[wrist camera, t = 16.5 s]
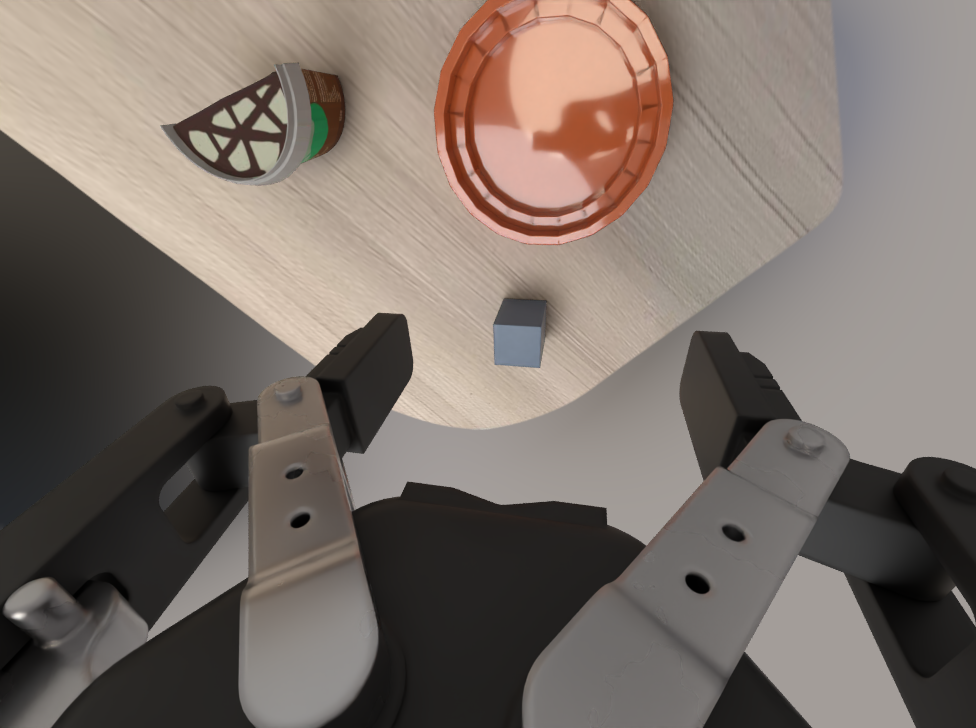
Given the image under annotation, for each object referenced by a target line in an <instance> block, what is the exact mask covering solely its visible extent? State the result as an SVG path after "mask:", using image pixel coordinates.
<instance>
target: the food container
mask: <svg viewBox="0 0 976 728" xmlns="http://www.w3.org/2000/svg"><path fill="white" fill-rule="evenodd" d="M274 67H275V69H276V71H275V72H272V73H271V74H270V75H269V76H267V77H265V78H263V79H261V80H259V81H258V82H256V83H254V84H252V85H250V86H248V87H246V88H244V89H242V90H240V91H237V92H235V93H233V94H231V95H229V96H227V97H225V98H222V99H220V100H219V101H217V102H215V103H214V104H212V105H210V106H209V107H207V108H205V109H204V110H202V111H200V112H198V113H196V114H194V115H193V116H191V117H189V118H187V119H185V120H183V121H181V122H179V123H178V124H169V125H161V126H160V127H161V128H162V130H163V131H164V133H165V134H166V135H167V137H168V138H169V139H170V141H171V142H172V143H173V144H174V145H175V147H176V148H177V149H178V150H179V151H180V152H181V153H182V154H183V155H184V156H185V157H186V158H187V159H189V160H190V161H191V162H192V163H194V164H195V165H196V166H197V167H199V168H201V169H202V170H204V171H205V172H207V173H209V174H211V175H213V176H215V177H218V178H220V179H223V180H226V181H229V182H232V183H236V184H244V185H258V186H261V185H271V184H274V183H278V182H280V181H282V180H284V179H285V178H287V177H289V176H290V175H291V174H292V173H293V172H294V171H295V170H296V169H297V168H298V166H299V165H300V164H301V163H303V162H306V161H308V160H311V159H313V158H316V157H318V156H321V155H323V154H325V153H327V152H328V151H330V150H331V149H332V148H333V147H334V146H335V144H336V143H337V142H338V140H339V138H340V136H341V134H342V130H343V127H344V121H345V102H344V95H343V91H342V87H341V84H340V81H339V79H338V76H337V75H332V74H327V73H322V72H316V71H311V70H306V69H301V68H300V65H299V63H283V64H282V65H277V64H275V65H274Z"/></svg>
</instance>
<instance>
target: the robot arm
mask: <svg viewBox="0 0 976 728" xmlns="http://www.w3.org/2000/svg"><path fill="white" fill-rule="evenodd" d="M329 353H330V354H329V355H326V356H325V357H324V359H323V360H322V361H321V362H320V363H319V364H318V365H317V366H316V367H315V368H314V369H313V370H312V371H311V372H310V373H309V374H308V375H307V376H306V377H304V376H301V377H300V376H299V377H291V378H287V379H283V380H280V381H278V382H275V383H274V384H271V385H270V386H268V387H267V388H265V389H264V390H263V391H262V392H261V393H260V395H259V396H258V399H257V400H253V401H245V402H236V403H229V401H228V399H227V396H226V394H225V392H224V390H223V389H221V388H220V387H216V386H202V387H197V388H192V389H189V390H186V391H183V392H181V393H179V394H177V395H174V396H173V397H171V398H169V399H168V400H166V401H165V402H164V403H163V404H161V405H160V406H159V407H157V408H156V409H155V410H154V411H152V412H151V413H150V414H149V415H147V416H146V417H145V418H143V419H142V420H141V421H140V422H138V423H137V424H136V425H135V426H133V427H132V428H131V429H130V430H128V431H127V432H126V433H124V434H123V435H122V436H120V437H119V438H118V439H117V440H115V441H114V442H113V443H112V444H110V445H109V446H108V447H106V448H105V449H104V450H103V451H101V452H100V453H99V454H98V455H96V456H95V457H94V458H92V459H91V460H90V461H89V462H87V463H86V464H85V465H83V466H82V467H81V468H80V469H78V470H77V471H76V472H74V473H73V474H72V475H71V476H69V477H68V478H67V479H66V480H65V481H63V482H62V483H60V484H59V485H58V486H57V487H55V488H54V489H53V490H51V491H50V492H49V493H48V494H46V495H45V496H44V497H43V498H41V499H40V500H39V501H38V502H36V503H35V504H34V505H32V506H31V507H30V508H29V509H27V510H26V511H25V512H23V513H22V514H21V515H20V516H18V517H17V518H16V519H15V520H13V521H12V522H11V523H10V524H8V525H7V526H6V527H4V528H3V529H2V530H0V728H812V727H811V726H810V725H809V724H808V723H807V721H806V720H805V719H804V718H803V717H802V716H801V715H800V714H799V712H798V711H797V710H796V709H795V708H794V707H793V706H792V705H791V704H790V702H789V701H788V700H787V699H786V698H785V697H784V696H783V694H782V693H781V692H780V691H779V690H778V689H777V688H776V687H775V685H774V684H773V683H772V682H771V681H770V680H769V679H768V677H767V676H766V675H765V674H764V673H763V672H762V671H761V670H760V669H759V668H758V666H757V665H756V664H755V663H754V662H753V661H752V660H751V658H750V657H749V656H748V655H747V654H746V653H745V652H744V651H745V649H746V647H747V646H748V644H749V642H750V640H751V638H752V637H753V635H754V633H755V631H756V629H757V627H758V626H759V624H760V622H761V620H762V618H763V616H764V615H765V613H766V611H767V609H768V608H769V606H770V604H771V602H772V600H773V599H774V597H775V595H776V593H777V591H778V590H779V588H780V586H781V584H782V582H783V581H784V579H785V577H786V575H787V573H788V572H789V570H790V568H791V566H792V564H793V563H794V561H795V559H796V557H797V555H799V556H802V557H805V558H808V559H810V560H812V561H815V562H818V563H821V564H823V565H826V566H828V567H831V568H833V569H836V570H838V571H841V572H844V574H845V576H846V578H847V580H848V583H849V585H850V587H851V589H852V591H853V593H854V595H855V598H856V600H857V602H858V604H859V606H860V608H861V610H862V613H863V615H864V617H865V619H866V621H867V623H868V625H869V628H870V630H871V632H872V634H873V636H874V638H875V640H876V643H877V645H878V646H879V649H880V651H881V653H882V655H883V658H884V660H885V662H886V664H887V666H888V668H889V670H890V672H891V675H892V677H893V679H894V681H895V683H896V685H897V687H898V690H899V692H900V694H901V696H902V698H903V700H904V703H905V705H906V707H907V709H908V711H909V713H910V715H911V718H912V720H913V722H914V724H915V726H916V728H976V627H975V625H974V624H973V622H972V621H971V619H970V618H969V616H968V615H967V613H966V612H965V610H964V609H963V607H962V606H961V604H960V603H959V601H958V600H957V598H956V597H955V595H954V594H953V592H952V591H951V590H952V589H953V588H954V587H955V586H957V588H958V589H959V591H960V592H961V594H962V595H963V597H964V598H965V599H966V601H967V603H968V604H969V606H970V608H971V610H972V612H973V614H974V617H975V622H976V469H975V468H972V467H970V466H968V465H965V464H962V463H958V462H956V461H952V460H948V459H942V458H936V457H922V458H917V459H914V460H912V461H911V462H910V463H909V464H908V466H907V467H906V469H905V470H904V472H903V473H902V474H900V473H897V472H894V471H890V470H887V469H883V468H880V467H876V466H873V465H869V464H866V463H862V462H859V461H856V460H853V459H850V454H849V452H848V449H847V448H846V446H845V445H844V444H843V443H842V442H841V441H840V440H839V439H838V438H837V437H835V436H834V435H832V434H831V433H829V432H827V431H826V430H824V429H822V428H820V427H817V426H815V425H812V424H810V423H806V422H803V421H802V420H801V419H800V417H799V416H798V414H797V413H796V411H795V409H794V408H793V406H792V405H791V403H790V402H789V400H788V399H787V397H786V396H785V394H784V393H783V391H782V390H780V387H779V385H778V383H777V382H776V381H775V380H774V379H773V376H772V374H771V373H770V371H769V370H768V368H767V367H766V365H765V364H764V363H762V362H761V361H760V360H758V359H757V358H755V357H754V356H752V355H751V354H750V353H747V352H739V350H738V349H737V347H736V345H735V344H734V342H733V340H732V339H731V337H730V335H729V334H728V333H725V332H708V331H695V332H694V334H693V336H692V339H691V342H690V346H689V350H688V354H687V358H686V362H685V366H684V370H683V374H682V378H681V383H680V403H681V407H682V410H683V414H684V417H685V420H686V423H687V427H688V430H689V434H690V437H691V440H692V443H693V447H694V450H695V454H696V457H697V460H698V463H699V467H700V470H701V474H702V477H703V480H704V482H703V483H702V484H701V485H700V486H699V487H698V488H697V489H696V491H695V492H694V493H693V494H692V495H691V496H690V497H689V499H688V500H687V501H686V502H685V503H684V504H683V505H682V507H681V508H680V509H679V510H678V511H677V512H676V513H675V514H674V516H673V517H672V518H671V519H670V520H669V521H668V522H667V523H666V525H665V526H664V527H663V528H662V529H661V530H660V531H659V532H658V534H657V535H656V536H655V537H654V538H653V539H652V540H651V541H650V543H649V544H648V545H647V546H646V545H644V544H643V543H642V542H641V541H639V540H637V539H636V538H634V537H632V536H631V535H629V534H627V533H625V532H623V531H621V530H619V529H617V528H614V527H612V526H609V525H607V513H606V508H602V507H594V506H587V505H579V504H572V503H564V502H557V501H549V502H536V503H523V504H512V505H499V504H495V503H493V502H490V501H487V500H485V499H482V498H479V497H477V496H474V495H471V494H468V493H466V492H463V491H460V490H458V489H455V488H451V487H444V486H436V485H428V484H422V483H414V482H407V484H406V486H405V488H404V490H403V492H402V494H401V496H400V497H393V498H387V499H383V500H379V501H376V502H372V503H370V504H367V505H365V506H362V507H360V508H358V509H356V507H355V504H354V500H353V496H352V493H351V489H350V485H349V481H348V478H347V474H346V470H345V467H344V463H343V460H342V457H343V456H344V454H345V453H346V452H353V453H362V454H364V453H365V451H366V449H367V448H368V446H369V445H370V443H371V441H372V440H373V438H374V436H375V435H376V433H377V432H378V430H379V429H380V427H381V425H382V424H383V422H384V421H385V419H386V417H387V416H388V414H389V412H390V411H391V409H392V408H393V406H394V404H395V403H396V401H397V400H398V398H399V396H400V395H401V393H402V392H403V390H404V388H405V387H406V385H407V384H408V382H409V380H410V378H411V376H412V372H413V356H412V350H411V343H410V337H409V330H408V324H407V320H406V317H405V316H404V315H403V314H392V313H377V314H376V315H375V316H374V317H373V318H372V319H371V320H370V321H369V322H368V323H367V325H366V326H365V327H364V328H359V329H358V330H356V331H354V332H352V333H350V334H348V335H346V336H345V337H344V338H343V339H342V340H341V341H340V342H339V343H338V344H337V347H334V348H333V349H332V350H331V351H330V352H329ZM185 463H186V464H187V466H188V468H189V469H190V471H191V473H192V475H193V476H194V478H195V479H194V480H193V481H192V482H191V484H189V486H188V487H187V488H186V489H185V490H184V491H183V492H182V493H181V494H180V495H179V496H178V497H177V498H176V499H175V500H174V501H173V503H172V504H171V505H170V506H169V507H168V508H167V509H166V510H165V511H164V512H163V511H162V509H161V507H160V505H159V495H160V491H161V489H162V487H163V486H164V484H165V483H166V482H167V481H168V480H169V479H170V478H171V477H172V476H173V475H174V474H175V473H176V472H177V471H178V470H179V469H180V468H181V467H182V466H183V465H184V464H185ZM248 500H249V575H248V578H246V579H245V580H243V581H242V582H240V583H238V584H237V585H235V586H234V587H232V588H231V589H229V590H227V591H226V592H224V593H223V594H221V595H220V596H218V597H217V598H215V599H214V600H212V601H210V602H209V603H207V604H205V605H204V606H202V607H201V608H199V609H198V610H196V611H195V612H193V613H191V614H190V615H188V616H187V617H185V618H183V619H182V620H180V621H179V622H177V623H176V624H174V625H173V626H171V627H169V628H168V629H166V630H165V631H163V632H162V633H160V634H159V635H157V636H155V637H154V638H152V639H151V640H149V641H148V642H146V641H147V638H148V632H149V630H150V629H151V628H152V627H153V625H154V624H155V622H156V621H157V620H158V619H159V617H160V616H161V615H162V613H163V612H164V611H165V610H166V608H167V607H168V606H169V604H170V603H171V602H172V600H173V599H174V597H175V596H176V595H177V594H178V592H179V591H180V590H181V588H182V587H183V586H184V584H185V583H186V582H187V581H188V579H189V578H190V576H191V575H192V574H193V573H194V571H195V570H196V569H197V567H198V566H199V565H200V563H201V562H202V561H203V559H204V558H205V557H206V555H207V554H208V553H209V552H210V550H211V549H212V548H213V546H214V545H215V544H216V542H217V541H218V540H219V538H220V537H221V536H222V534H223V533H224V532H225V530H226V529H227V528H228V526H229V525H230V524H231V523H232V521H233V520H234V519H235V517H236V516H237V515H238V513H239V512H240V511H241V509H242V508H243V507H244V505H245V504H246V503H247V501H248Z"/></svg>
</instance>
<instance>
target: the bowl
mask: <svg viewBox="0 0 976 728" xmlns="http://www.w3.org/2000/svg"><path fill="white" fill-rule="evenodd" d="M673 102H674V101H673V93H672V85H671V77H670V69H669V61H668V57H667V54H666V52H665V50H664V48H663V46H662V43H661V41H660V39H659V37H658V35H657V33H656V31H655V29H654V27H653V25H652V23H651V21H650V19H649V17H648V16H647V14H646V13H645V12H643V11H642V10H641V9H640V8H639V7H638V6H637V5H636V4H635V3H634V2H633V1H632V0H487V1H486V2H485V3H484V5H483V6H482V7H481V8H480V9H479V10H478V11H477V12H476V13H475V14H474V15H473V16H472V18H471V19H470V20H469V21H468V22H467V23H466V24H465V25H464V26H463V27H462V28H461V30H460V32H459V34H458V36H457V38H456V40H455V42H454V44H453V46H452V48H451V50H450V53H449V55H448V57H447V59H446V61H445V63H444V65H443V67H442V70H441V74H440V80H439V85H438V91H437V97H436V103H435V108H434V118H435V129H436V140H437V151H438V155H439V157H440V160H441V163H442V166H443V168H444V171H445V174H446V176H447V179H448V182H449V184H450V186H451V188H452V190H453V191H454V192H455V194H456V195H457V196H458V198H459V199H460V200H461V202H462V203H463V204H464V206H465V207H466V209H467V210H468V211H469V213H470V214H471V215H472V216H474V217H475V218H476V219H478V220H479V221H480V222H482V223H483V224H484V225H486V226H487V227H488V228H490V229H491V230H492V231H494V232H495V233H497V234H498V235H501V236H504V237H507V238H510V239H513V240H516V241H519V242H521V243H524V244H535V245H561V244H564V243H568V242H571V241H575V240H578V239H581V238H585V237H588V236H591V235H593V234H595V233H596V232H598V231H599V230H601V229H602V228H604V227H605V226H607V225H608V224H610V223H612V222H613V221H615V220H616V219H618V218H619V217H621V216H622V215H623V214H624V213H625V212H626V210H627V209H628V208H629V207H630V206H631V205H632V204H633V202H634V201H635V200H636V199H637V198H638V197H639V195H640V194H641V193H642V192H643V191H644V190H645V189H646V187H647V185H649V182H650V180H651V178H652V176H653V174H654V172H655V170H656V168H657V165H658V163H659V161H660V159H661V157H662V155H663V153H664V151H665V149H666V145H667V139H668V133H669V127H670V121H671V115H672V109H673Z"/></svg>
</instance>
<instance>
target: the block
mask: <svg viewBox="0 0 976 728" xmlns="http://www.w3.org/2000/svg"><path fill="white" fill-rule="evenodd" d="M546 303H547V301H544V300H521V299H503V302H502V304H501V307H500V309H499V312H498V314H497V317H496V319H495V322H494V324H493V330H494V359H495V365H507V366H520V367H534V368H540V365H541V359H542V353H543V348H544V342H545V328H546Z"/></svg>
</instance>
